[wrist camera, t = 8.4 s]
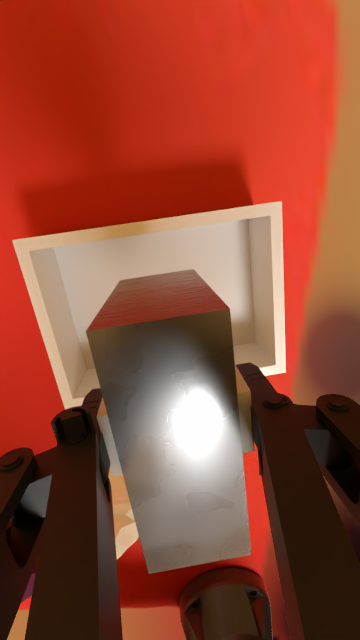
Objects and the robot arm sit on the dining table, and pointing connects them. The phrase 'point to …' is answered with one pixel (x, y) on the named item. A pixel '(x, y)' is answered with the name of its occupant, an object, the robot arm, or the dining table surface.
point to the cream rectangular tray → (151, 259)
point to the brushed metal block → (174, 416)
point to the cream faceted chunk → (122, 515)
